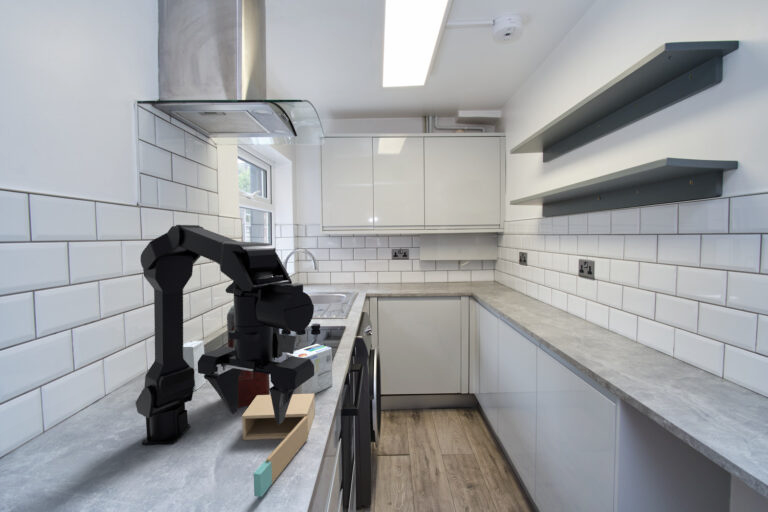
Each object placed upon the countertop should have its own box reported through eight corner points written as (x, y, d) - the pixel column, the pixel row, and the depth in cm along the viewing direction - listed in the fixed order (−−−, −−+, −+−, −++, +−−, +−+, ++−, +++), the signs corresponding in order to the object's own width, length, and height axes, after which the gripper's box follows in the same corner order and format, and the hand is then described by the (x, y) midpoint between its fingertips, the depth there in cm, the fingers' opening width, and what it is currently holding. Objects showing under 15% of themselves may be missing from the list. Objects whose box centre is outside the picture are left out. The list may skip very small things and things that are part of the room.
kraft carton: (242, 439, 69) (241, 415, 69) (257, 416, 78) (257, 395, 78) (307, 437, 69) (306, 413, 69) (315, 414, 78) (314, 393, 78)
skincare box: (196, 391, 92) (193, 346, 91) (178, 391, 91) (176, 347, 91) (207, 381, 98) (205, 340, 97) (191, 382, 98) (189, 340, 97)
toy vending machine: (229, 413, 80) (224, 294, 78) (234, 393, 90) (229, 287, 89) (269, 406, 82) (265, 291, 81) (269, 387, 93) (266, 285, 92)
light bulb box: (317, 379, 98) (316, 342, 97) (333, 385, 94) (332, 347, 93) (286, 393, 90) (284, 352, 89) (301, 400, 85) (300, 358, 85)
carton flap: (261, 499, 52) (260, 471, 52) (254, 498, 53) (253, 470, 53) (309, 438, 68) (308, 416, 68) (304, 437, 69) (303, 416, 68)
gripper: (331, 315, 58) (332, 404, 59) (244, 308, 65) (246, 388, 66) (291, 333, 48) (294, 440, 49) (193, 322, 55) (197, 416, 55)
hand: (256, 417), depth 55 cm, fingers open, 9 cm apart
